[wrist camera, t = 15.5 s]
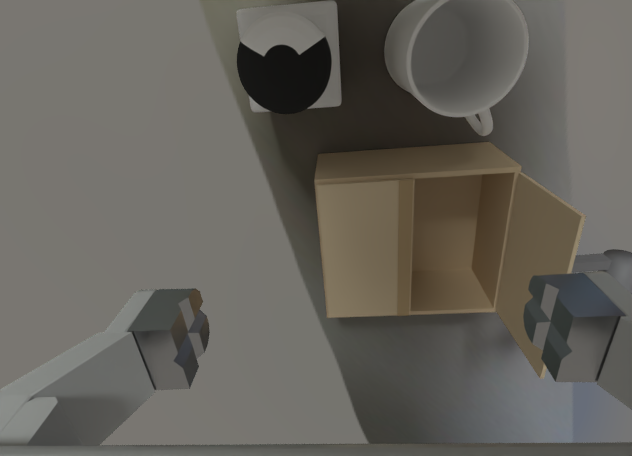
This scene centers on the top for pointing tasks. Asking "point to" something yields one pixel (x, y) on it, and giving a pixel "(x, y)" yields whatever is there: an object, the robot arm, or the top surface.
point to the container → (290, 56)
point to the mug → (458, 55)
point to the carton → (414, 228)
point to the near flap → (546, 256)
